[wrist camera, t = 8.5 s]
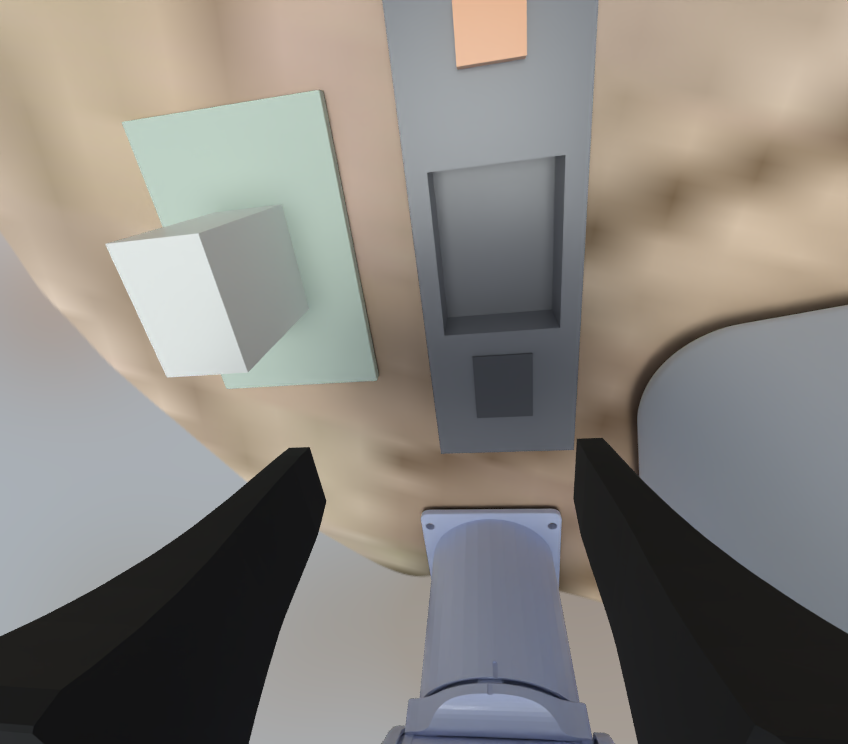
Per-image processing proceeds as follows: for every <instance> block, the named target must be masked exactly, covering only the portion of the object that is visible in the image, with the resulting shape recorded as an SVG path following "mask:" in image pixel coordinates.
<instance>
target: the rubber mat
mask: <svg viewBox="0 0 848 744" xmlns="http://www.w3.org/2000/svg"><path fill="white" fill-rule="evenodd" d="M122 124H123V127H124V129H125V132H126V135H127V137H128V140H129V142H130V145H131V147H132V150H133V152H134V155H135V157H136V160H137V162H138V165H139V168H140V170H141V173H142V175H143V178H144V180H145V183H146V185H147V188H148V190H149V193H150V196H151V198H152V201H153V203H154V206H155V208H156V211H157V213H158V216H159V218H160V221H161V223H162V226H163V227H166V226H169V225H172V224H176V223H179V222H183V221H186V220H190V219H193V218H197V217H200V216H204V215H207V214H210V213H214V212H222V211H230V210H238V209H246V208H255V207H263V206H271V205H279V204H282V207H283V210H284V214H285V218H286V222H287V226H288V230H289V234H290V237H291V241H292V245H293V249H294V253H295V257H296V260H297V264H298V268H299V272H300V276H301V280H302V283H303V287H304V291H305V295H306V299H307V303H308V307H309V310H308V311H307V312H306V313H305V314H304V315H303V316H302V317H301V318H300V319H299V320H298V321H297V322H296V323H295V324H294V325H293V326H292V327H291V328H290V329H289V330H288V331H287V333H286V334H285V335H284V336H283V337H282V338H281V339H280V340H279V341H278V342H277V343H276V344H275V345H274V346H273V347H272V348H271V349H270V350H269V351H268V352H267V353H266V354H265V355H264V356H263V357H262V358H261V360H260V361H259V362H258V363H257V364H256V365H255V366H254V367H253V368H252V369H251V370H250V371H249V372H248V373H231V374H221V376H222V378H223V381H224V383H225V386H226V388H227V389H234V388H252V387H270V386H288V385H306V384H325V383H343V382H361V381H377V379H378V376H379V374H378V369H377V364H376V359H375V354H374V348H373V343H372V338H371V333H370V328H369V323H368V318H367V313H366V307H365V302H364V297H363V292H362V287H361V282H360V277H359V272H358V267H357V261H356V256H355V251H354V246H353V241H352V236H351V231H350V226H349V221H348V215H347V210H346V205H345V200H344V195H343V190H342V185H341V180H340V175H339V169H338V164H337V159H336V154H335V149H334V144H333V139H332V134H331V129H330V123H329V118H328V113H327V108H326V103H325V98H324V93H323V91H321V90H315V91H309V92H303V93H297V94H291V95H285V96H279V97H272V98H266V99H260V100H254V101H248V102H242V103H236V104H230V105H223V106H217V107H211V108H205V109H199V110H193V111H187V112H181V113H174V114H168V115H162V116H156V117H150V118H144V119H138V120H132V121H125V122H122Z"/></svg>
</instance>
